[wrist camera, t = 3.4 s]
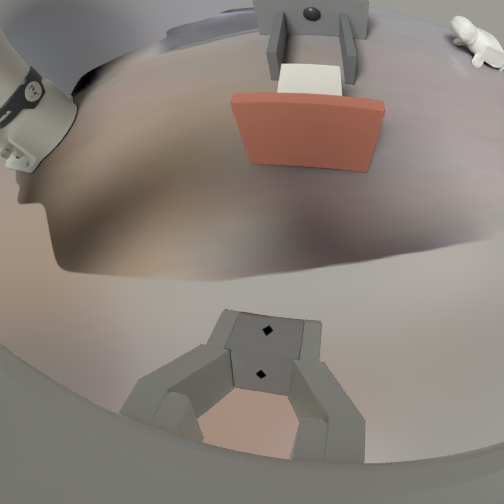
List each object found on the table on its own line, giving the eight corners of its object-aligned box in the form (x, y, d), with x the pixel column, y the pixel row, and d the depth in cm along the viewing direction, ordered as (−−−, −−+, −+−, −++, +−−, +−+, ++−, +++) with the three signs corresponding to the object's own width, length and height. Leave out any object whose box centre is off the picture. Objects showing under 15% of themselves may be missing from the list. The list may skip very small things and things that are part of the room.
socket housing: (247, 80, 34) (234, 35, 27) (263, 25, 39) (255, -10, 31) (378, 87, 31) (386, 41, 23) (363, 29, 35) (365, -6, 28)
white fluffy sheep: (475, 58, 34) (431, 28, 31) (494, 36, 26) (451, 0, 23) (495, 84, 32) (454, 53, 28) (517, 62, 24) (478, 23, 20)
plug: (251, 167, 29) (230, 103, 20) (265, 92, 33) (252, 32, 23) (365, 175, 27) (385, 111, 18) (359, 97, 30) (366, 36, 21)
